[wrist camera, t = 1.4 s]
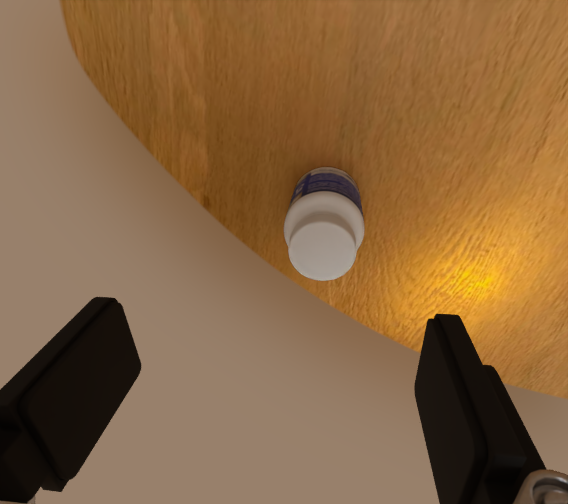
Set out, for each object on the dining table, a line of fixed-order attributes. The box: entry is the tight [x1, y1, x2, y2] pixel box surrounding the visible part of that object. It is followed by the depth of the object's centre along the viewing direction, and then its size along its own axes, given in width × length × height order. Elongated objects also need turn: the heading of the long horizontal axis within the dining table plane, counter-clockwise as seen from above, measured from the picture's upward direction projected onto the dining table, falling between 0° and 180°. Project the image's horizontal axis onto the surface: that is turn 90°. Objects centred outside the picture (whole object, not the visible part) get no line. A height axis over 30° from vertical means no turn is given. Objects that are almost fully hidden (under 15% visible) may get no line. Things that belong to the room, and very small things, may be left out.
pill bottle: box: [284, 167, 364, 281], centre depth 24 cm, size 5×5×9 cm
